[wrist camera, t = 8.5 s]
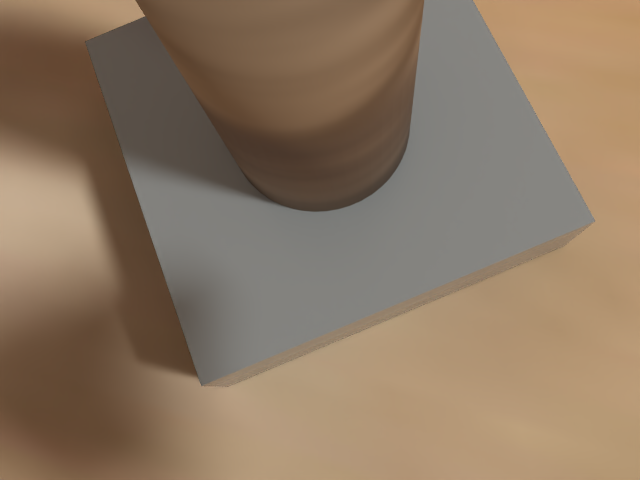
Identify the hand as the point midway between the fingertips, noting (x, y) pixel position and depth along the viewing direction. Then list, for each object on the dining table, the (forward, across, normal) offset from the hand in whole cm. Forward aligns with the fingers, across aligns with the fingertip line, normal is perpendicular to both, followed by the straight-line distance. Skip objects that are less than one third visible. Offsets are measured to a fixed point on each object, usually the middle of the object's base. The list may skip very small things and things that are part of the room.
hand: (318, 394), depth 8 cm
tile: (+14, 0, +3) cm, 15 cm away
